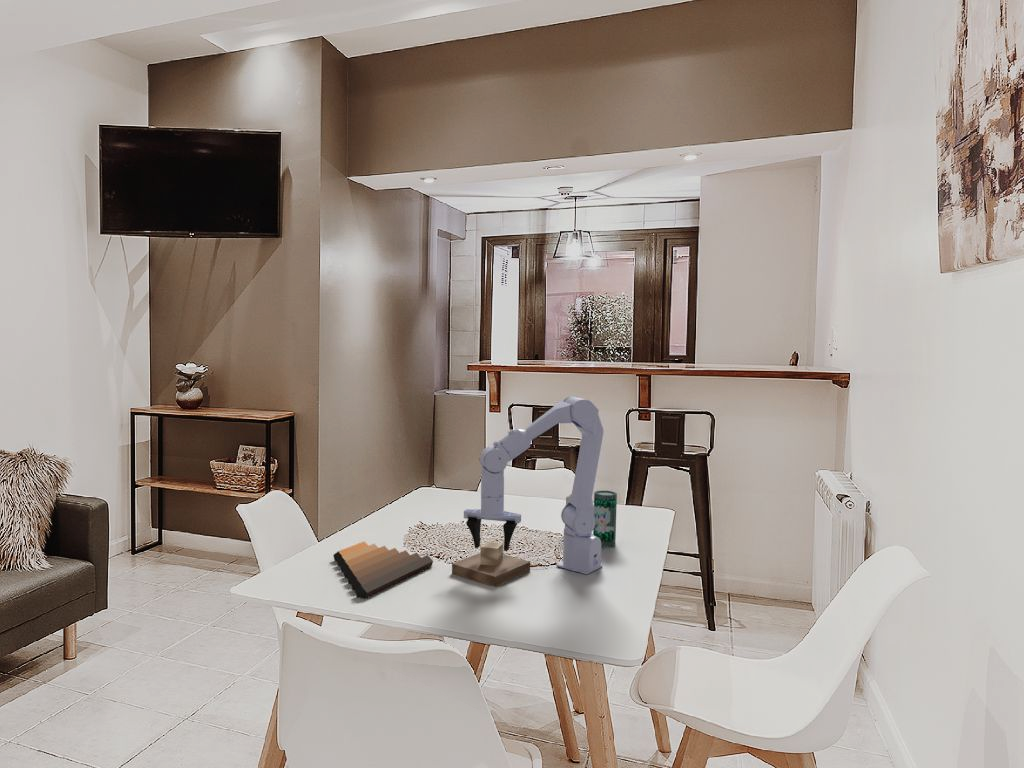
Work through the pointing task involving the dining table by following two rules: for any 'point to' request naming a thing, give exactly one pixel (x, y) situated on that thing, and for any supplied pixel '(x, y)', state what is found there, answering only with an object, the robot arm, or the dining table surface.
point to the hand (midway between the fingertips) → (491, 548)
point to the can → (605, 517)
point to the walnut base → (491, 570)
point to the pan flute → (378, 567)
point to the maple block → (491, 553)
